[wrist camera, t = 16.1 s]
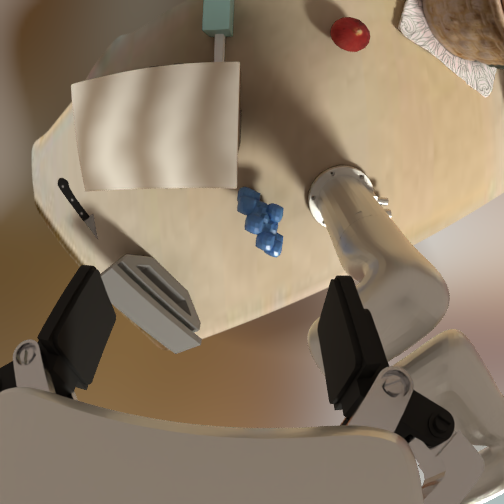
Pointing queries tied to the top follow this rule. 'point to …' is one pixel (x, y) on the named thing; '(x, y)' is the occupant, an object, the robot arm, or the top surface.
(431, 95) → the top surface
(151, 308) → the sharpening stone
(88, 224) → the cleaver
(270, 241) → the grapes
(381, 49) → the top surface
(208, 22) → the sage green block
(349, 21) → the onion
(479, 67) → the cookie jar
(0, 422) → the robot arm
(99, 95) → the cabinet
